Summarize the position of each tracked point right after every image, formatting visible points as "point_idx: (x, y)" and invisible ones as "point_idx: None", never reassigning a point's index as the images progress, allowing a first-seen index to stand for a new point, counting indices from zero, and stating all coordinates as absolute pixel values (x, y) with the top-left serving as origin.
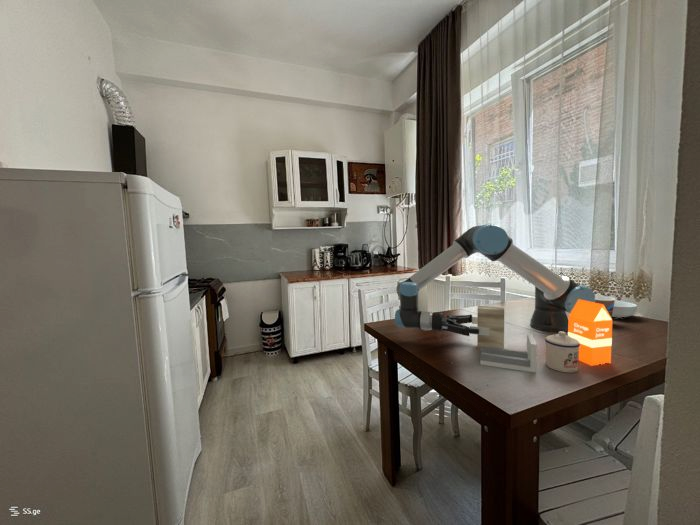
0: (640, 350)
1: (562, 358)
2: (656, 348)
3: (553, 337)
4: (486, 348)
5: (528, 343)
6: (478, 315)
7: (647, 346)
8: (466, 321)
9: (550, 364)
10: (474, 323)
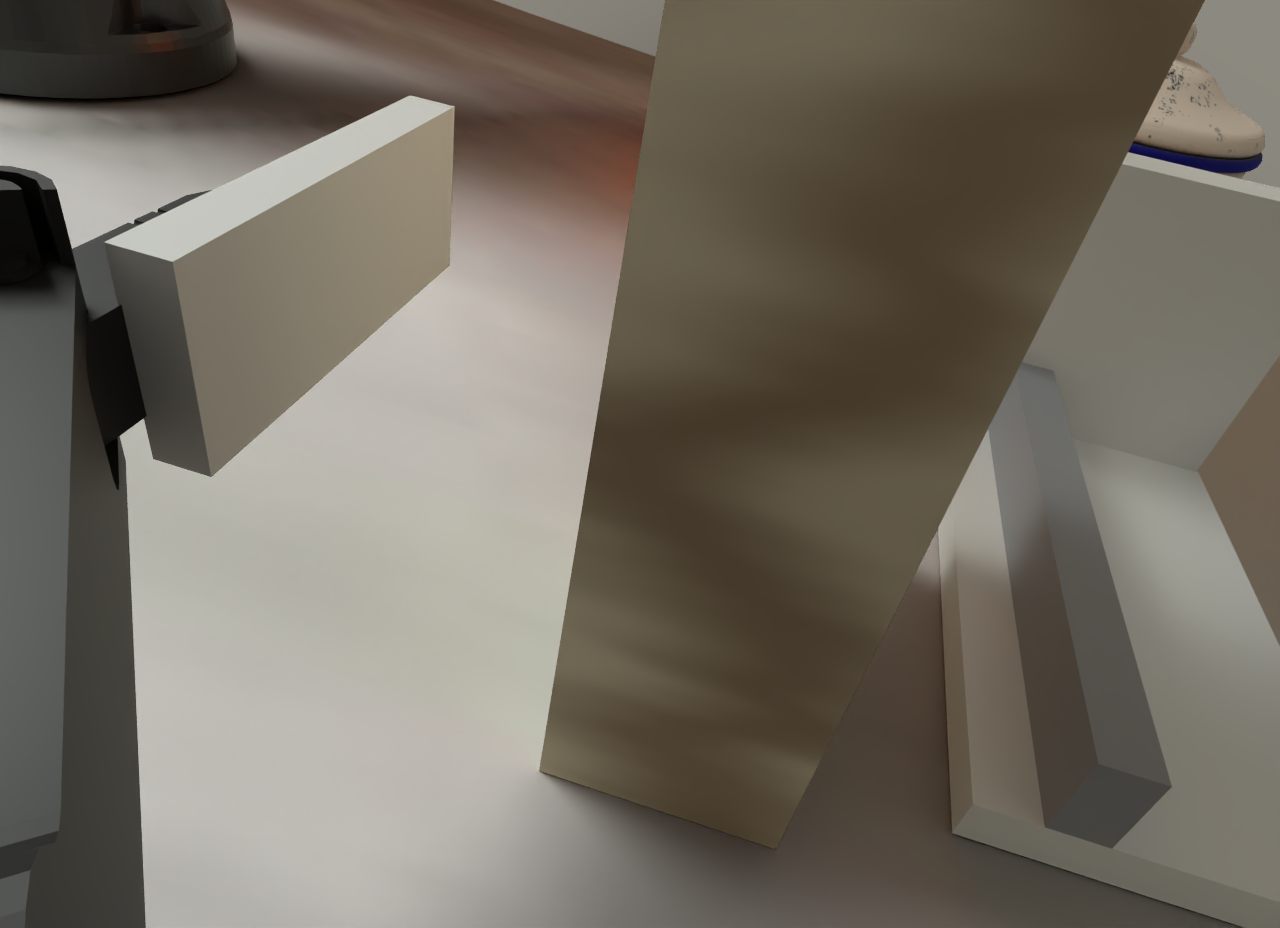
0: (605, 58)
1: None
2: (573, 31)
3: (1189, 98)
4: (1139, 713)
5: (1183, 267)
6: (1158, 69)
7: (548, 31)
8: (120, 556)
9: None
10: (256, 426)
